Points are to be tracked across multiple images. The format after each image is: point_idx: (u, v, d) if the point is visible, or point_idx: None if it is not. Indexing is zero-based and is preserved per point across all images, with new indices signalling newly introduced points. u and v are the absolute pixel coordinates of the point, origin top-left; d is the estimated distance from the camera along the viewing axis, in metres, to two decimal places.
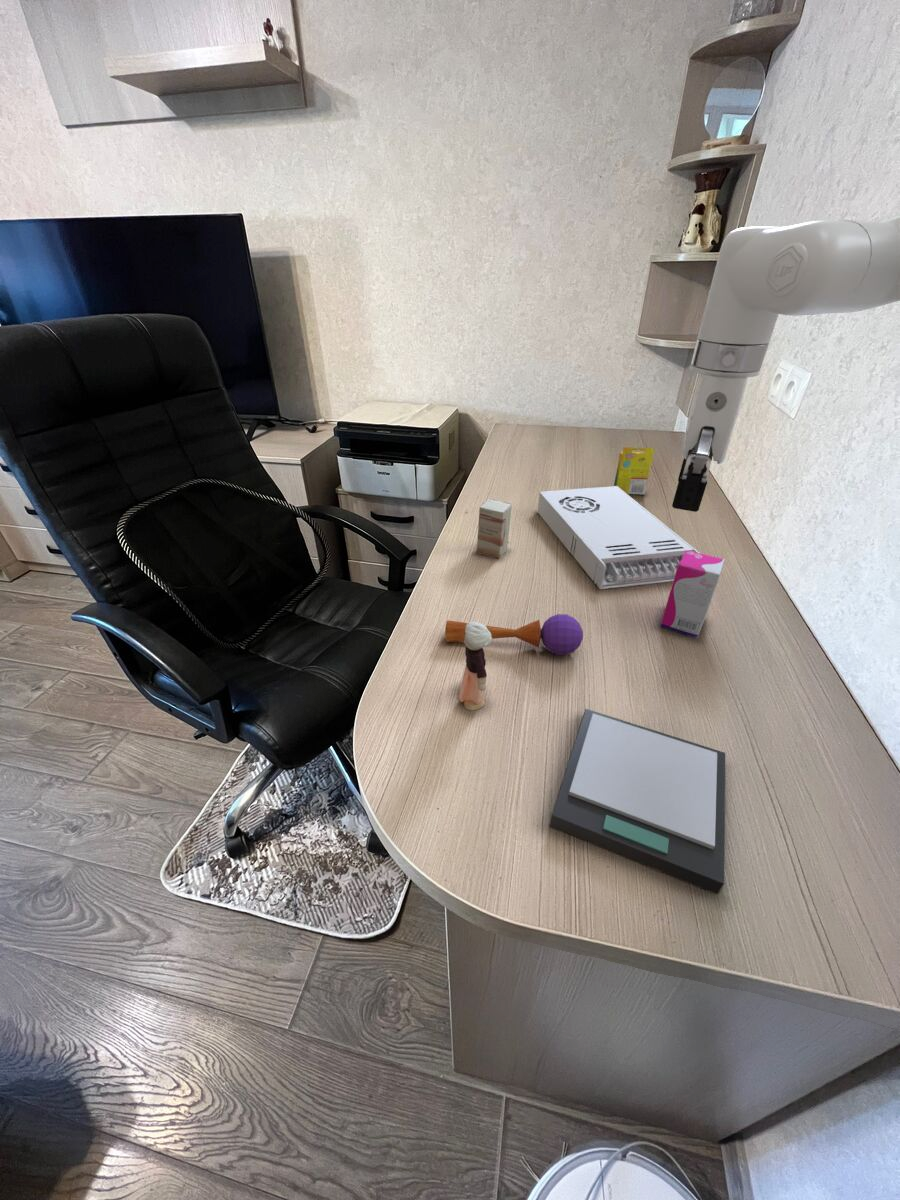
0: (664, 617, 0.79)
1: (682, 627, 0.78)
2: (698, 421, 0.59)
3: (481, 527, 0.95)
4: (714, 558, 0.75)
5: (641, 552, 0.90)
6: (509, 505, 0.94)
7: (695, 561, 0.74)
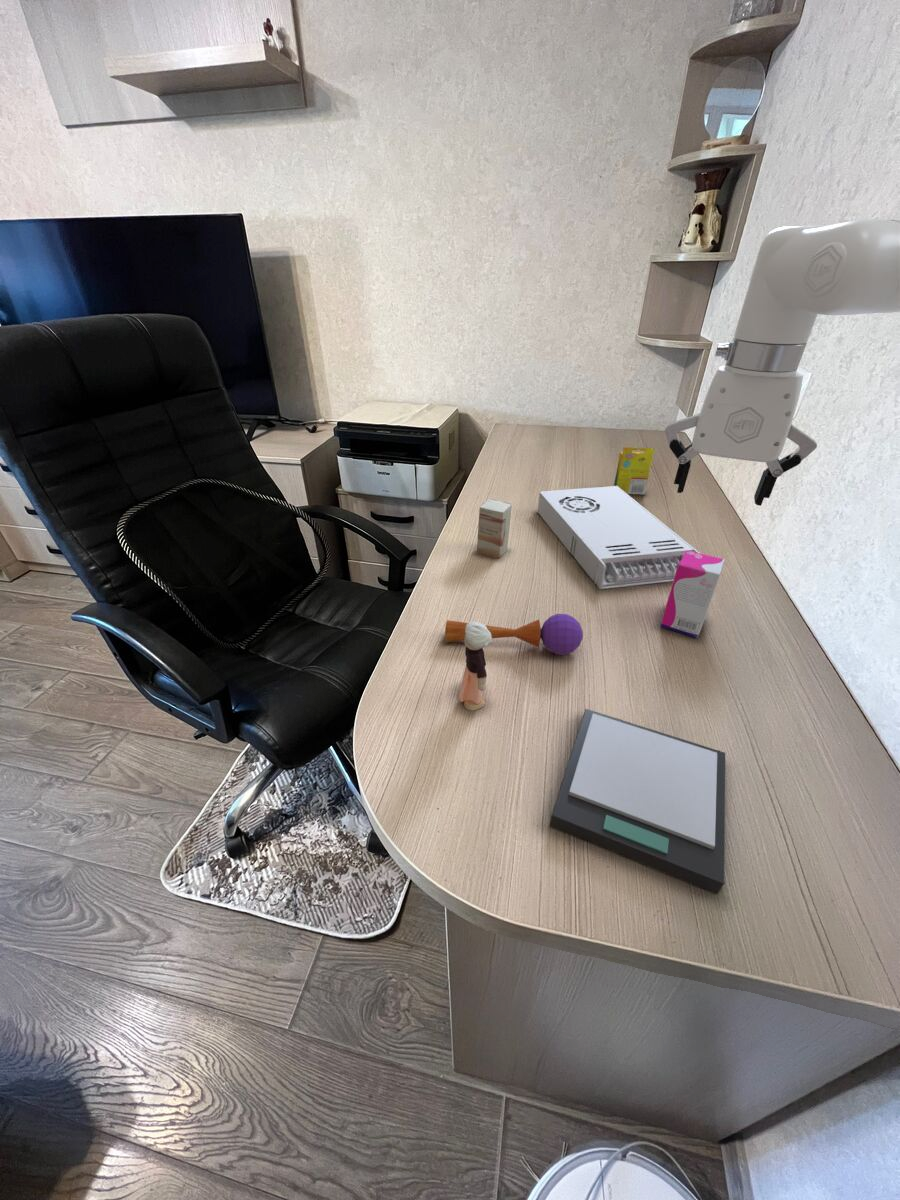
0: (664, 617, 0.79)
1: (682, 627, 0.78)
2: None
3: (481, 527, 0.95)
4: (714, 558, 0.75)
5: (641, 552, 0.89)
6: (509, 505, 0.94)
7: (695, 561, 0.74)
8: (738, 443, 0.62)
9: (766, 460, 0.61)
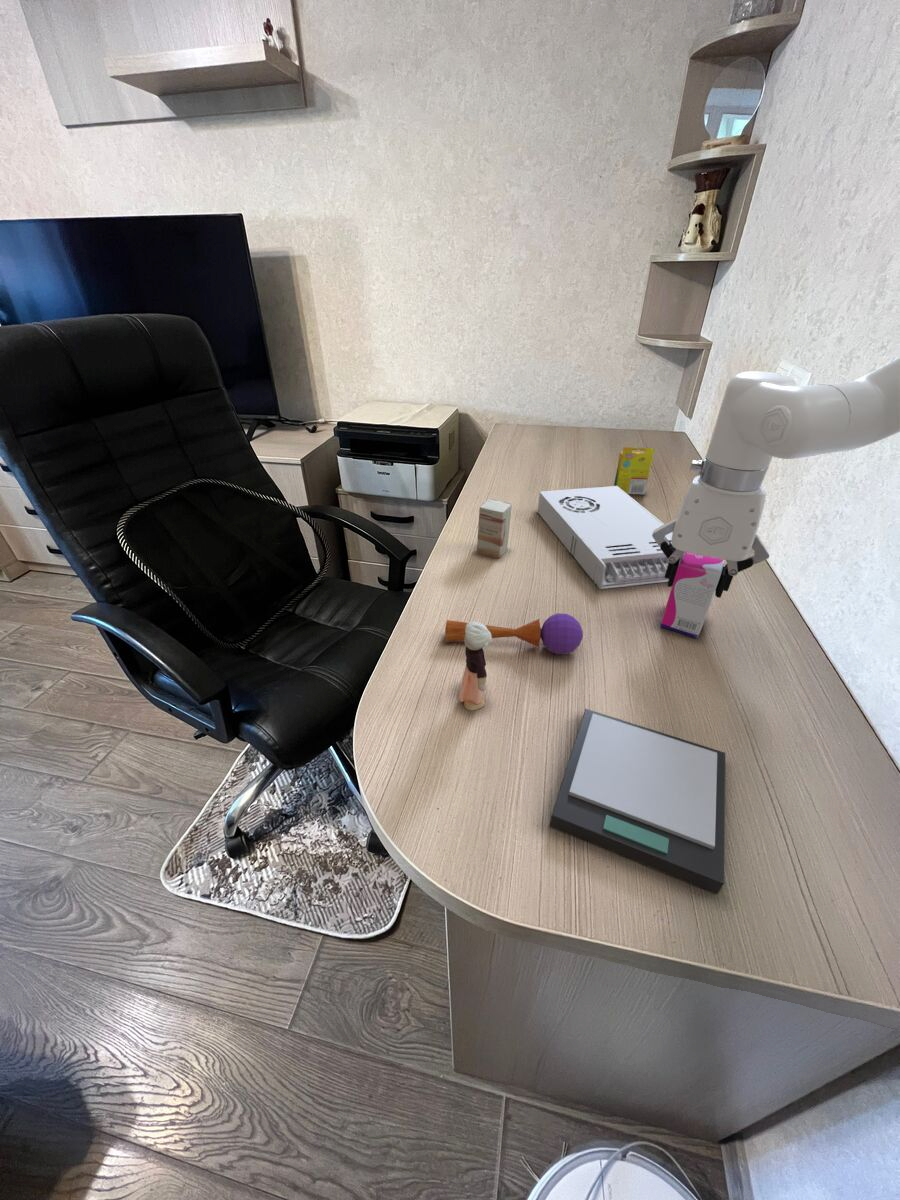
0: (664, 617, 0.79)
1: (682, 627, 0.78)
2: None
3: (481, 527, 0.95)
4: (715, 558, 0.75)
5: (641, 552, 0.90)
6: (509, 505, 0.94)
7: (695, 562, 0.74)
8: (711, 545, 0.69)
9: (736, 560, 0.69)
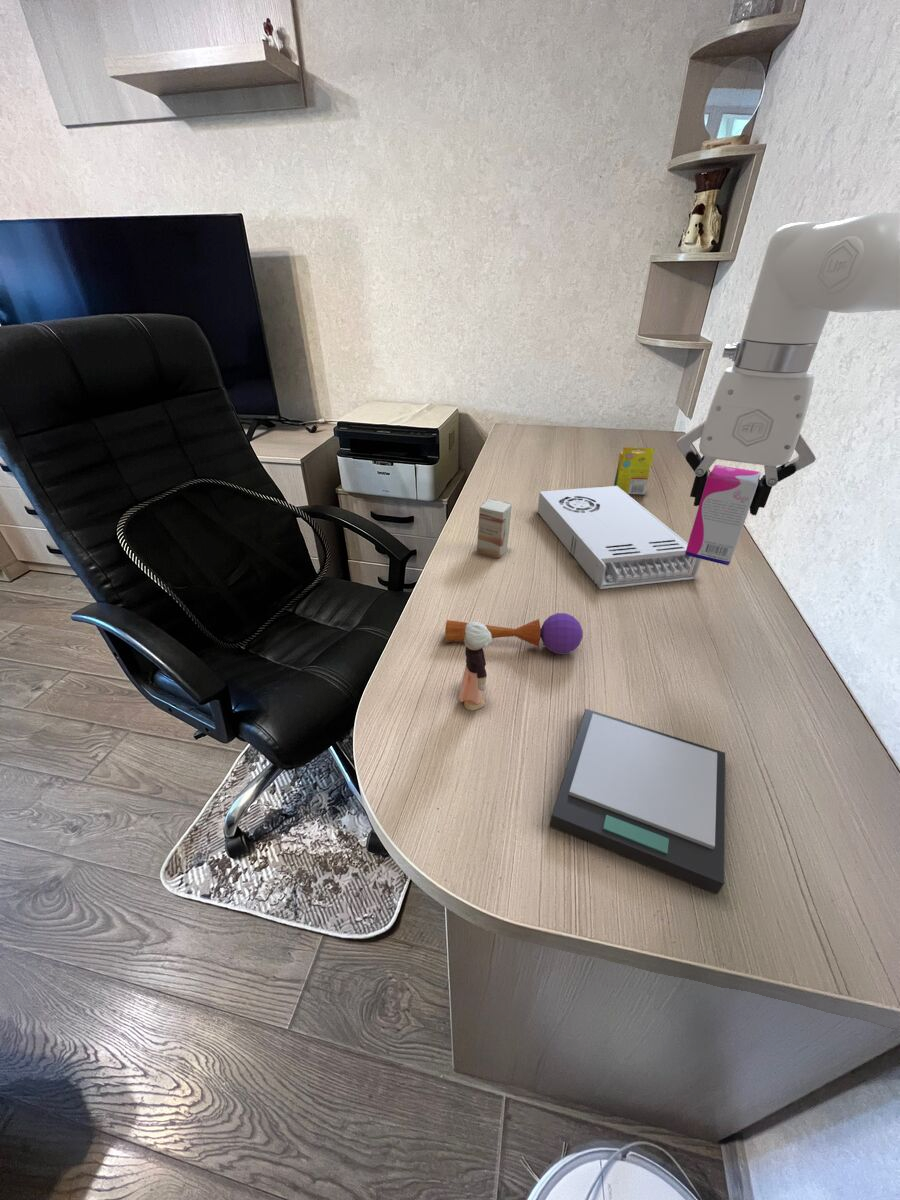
0: (690, 543, 0.69)
1: (711, 553, 0.68)
2: None
3: (481, 527, 0.95)
4: (749, 471, 0.65)
5: (641, 552, 0.90)
6: (509, 505, 0.94)
7: (727, 473, 0.64)
8: (747, 446, 0.60)
9: (776, 464, 0.59)
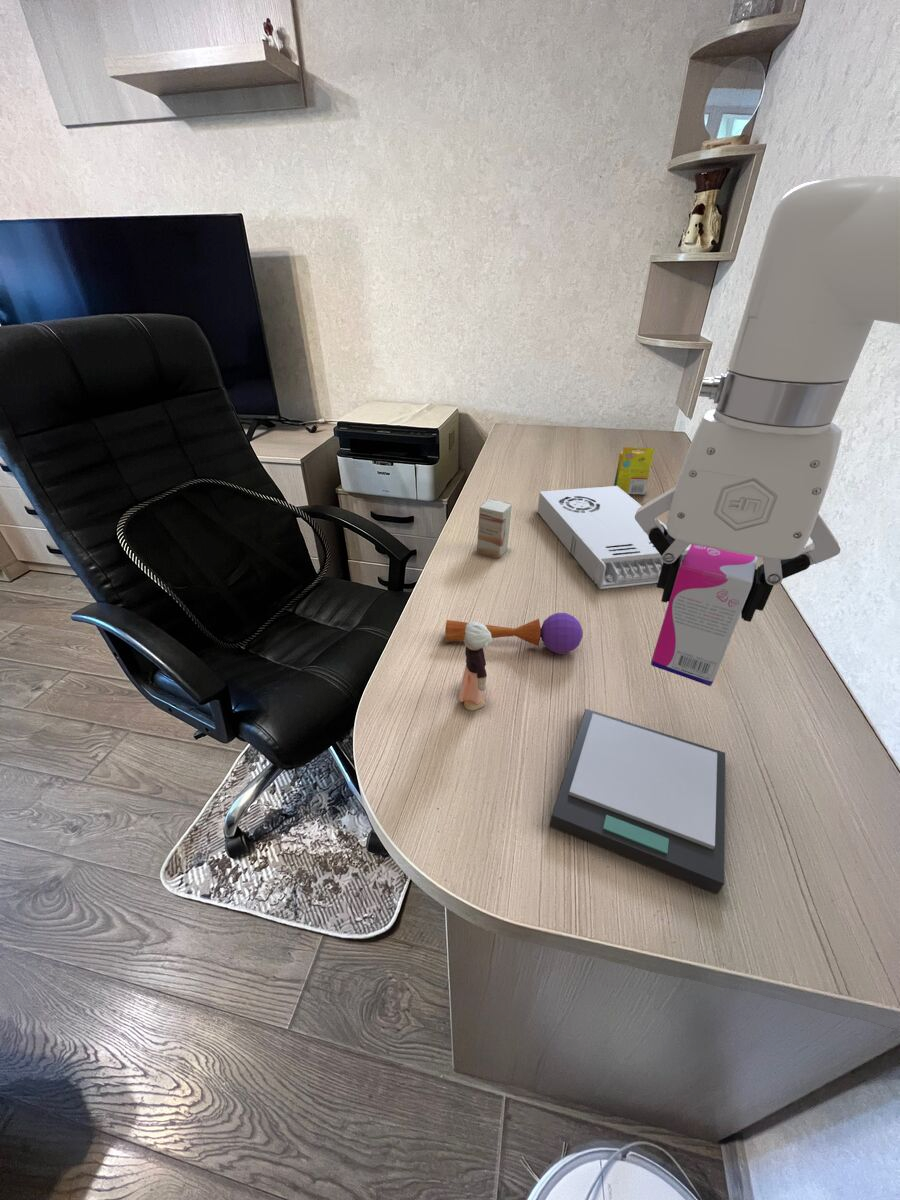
0: (657, 651, 0.48)
1: (686, 668, 0.47)
2: None
3: (481, 527, 0.95)
4: (740, 555, 0.45)
5: (641, 552, 0.90)
6: (509, 505, 0.94)
7: (708, 561, 0.44)
8: (736, 531, 0.39)
9: (781, 558, 0.39)
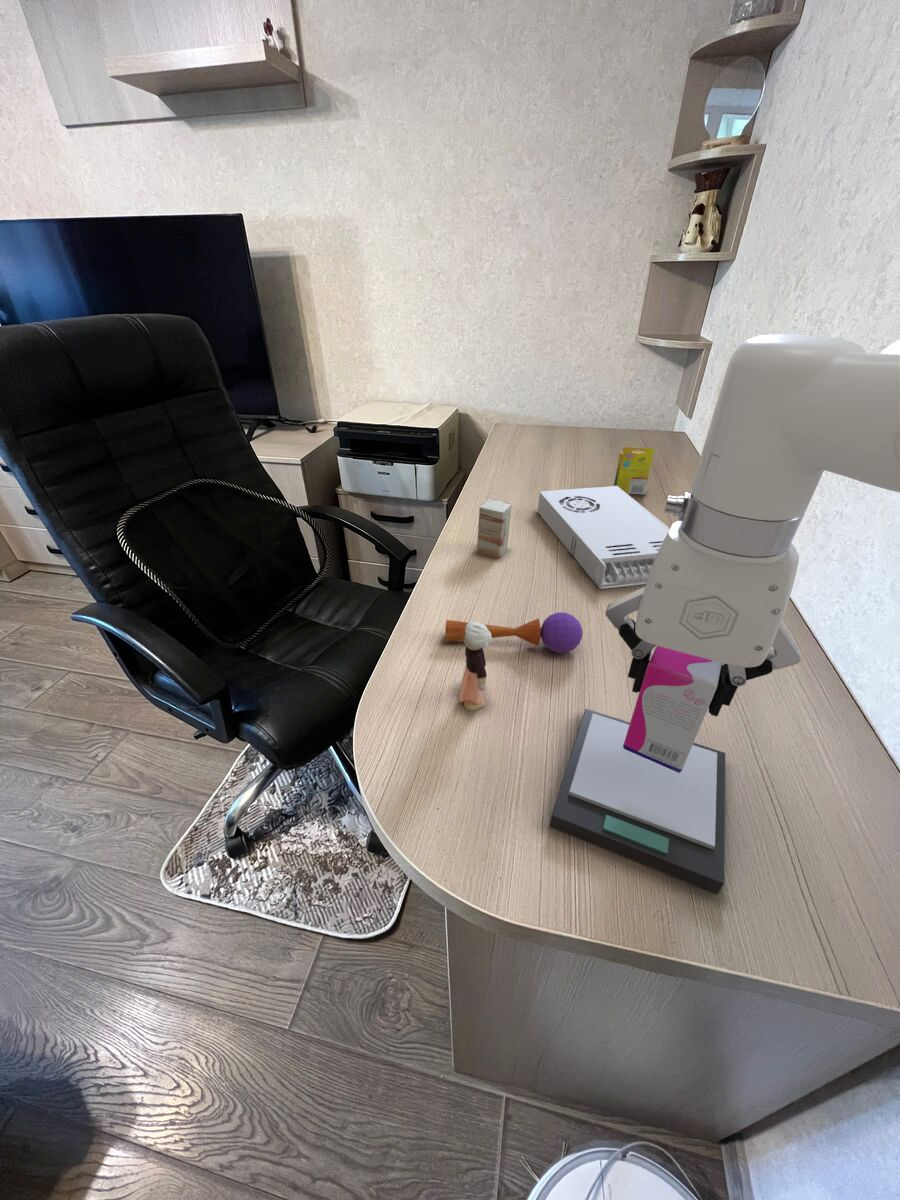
0: (628, 737, 0.50)
1: (656, 755, 0.49)
2: None
3: (481, 527, 0.95)
4: None
5: (641, 552, 0.90)
6: (509, 505, 0.94)
7: (676, 657, 0.45)
8: (701, 639, 0.40)
9: (743, 666, 0.40)
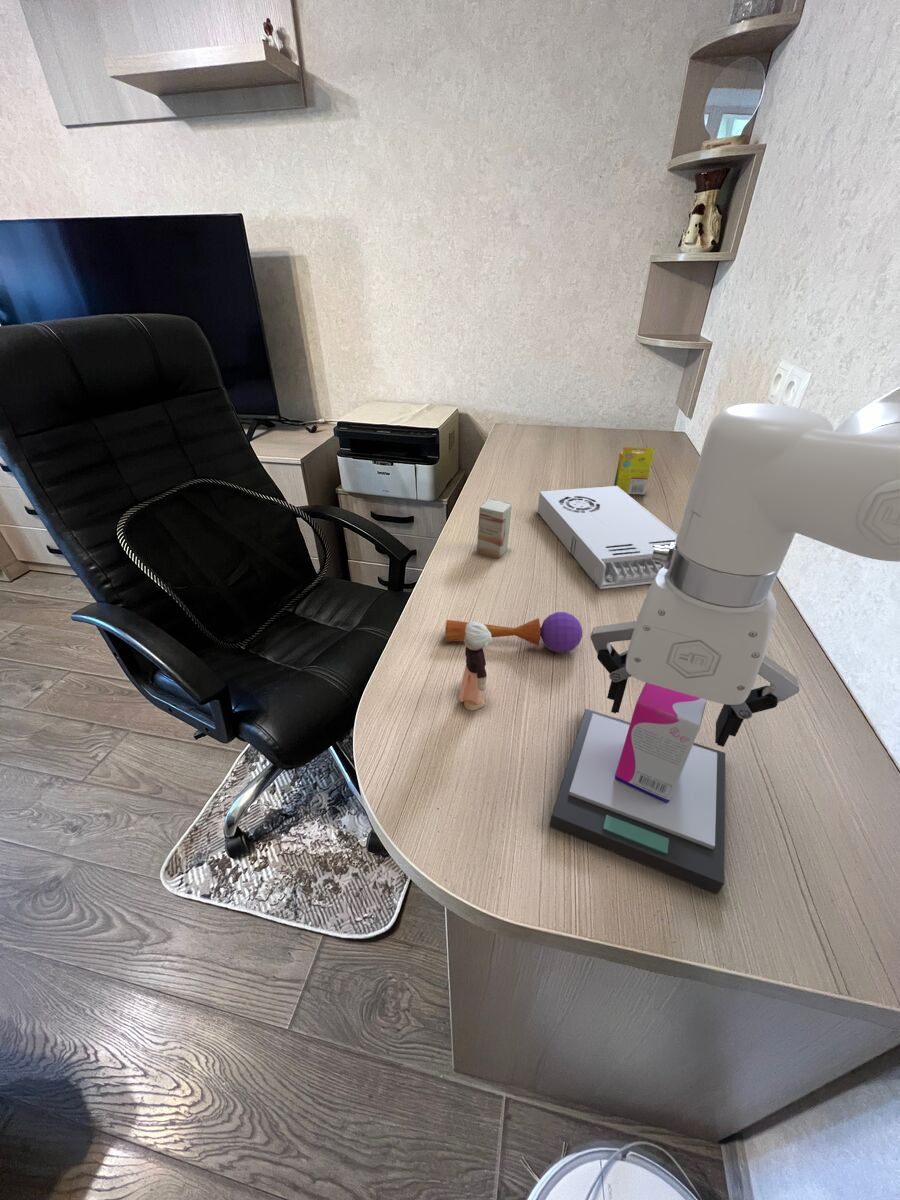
0: (619, 768, 0.52)
1: (646, 786, 0.51)
2: None
3: (481, 527, 0.95)
4: None
5: (641, 552, 0.90)
6: (509, 505, 0.94)
7: (663, 696, 0.48)
8: (687, 678, 0.43)
9: (727, 704, 0.43)
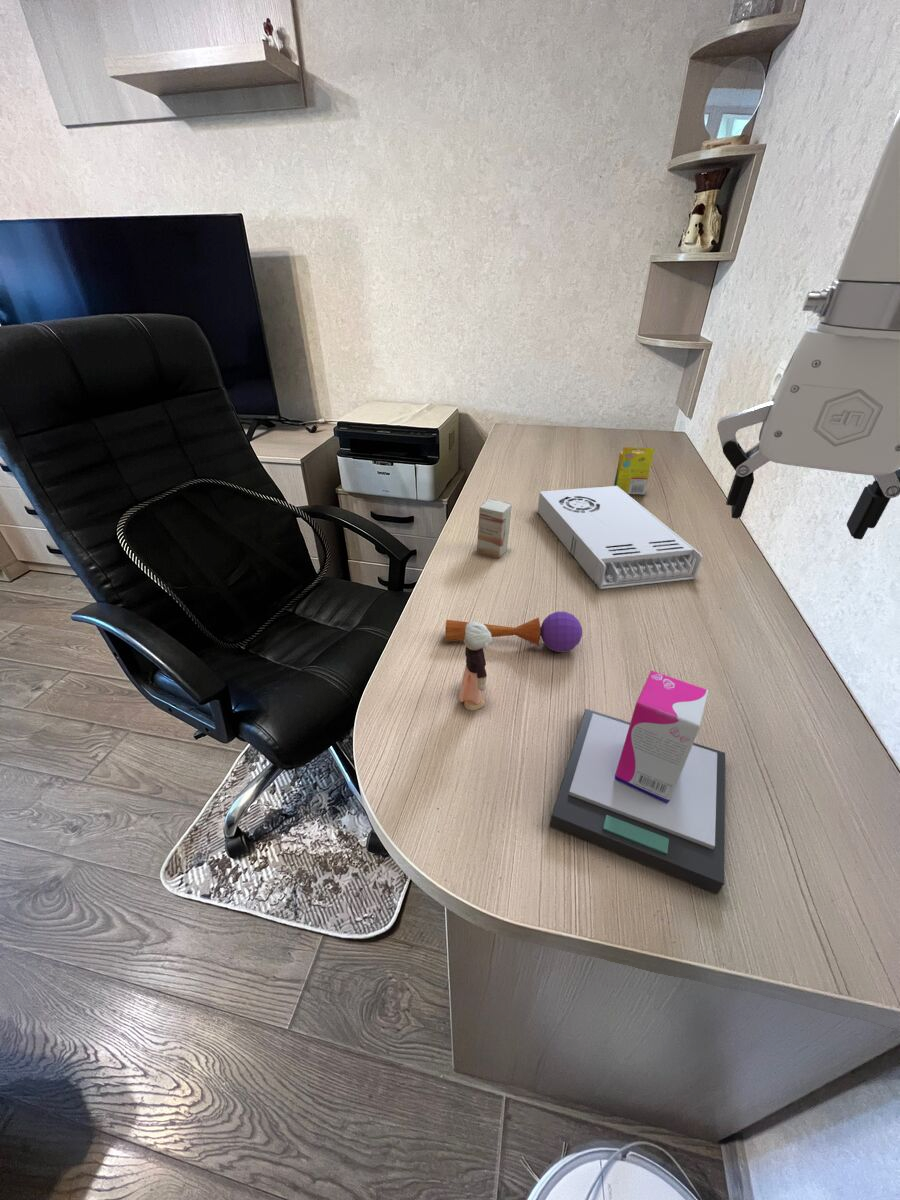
0: (619, 768, 0.52)
1: (646, 786, 0.51)
2: None
3: (481, 527, 0.95)
4: (693, 688, 0.49)
5: (641, 552, 0.90)
6: (509, 505, 0.94)
7: (663, 696, 0.48)
8: (836, 446, 0.40)
9: (879, 473, 0.40)
